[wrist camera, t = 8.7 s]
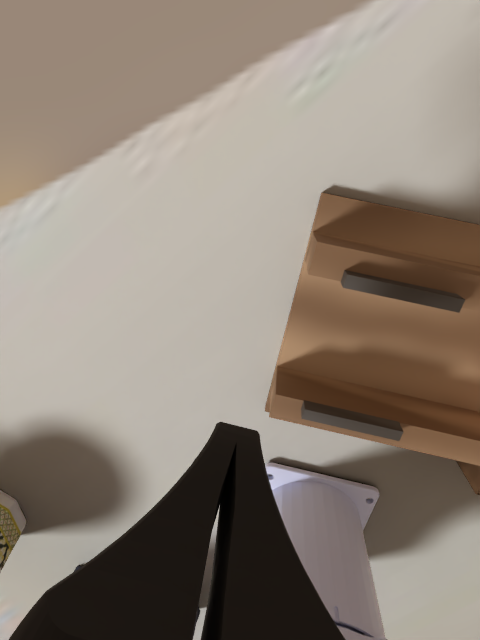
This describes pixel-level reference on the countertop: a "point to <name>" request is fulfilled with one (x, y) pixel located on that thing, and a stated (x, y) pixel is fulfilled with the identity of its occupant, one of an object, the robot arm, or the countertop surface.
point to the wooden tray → (386, 332)
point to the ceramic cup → (9, 525)
